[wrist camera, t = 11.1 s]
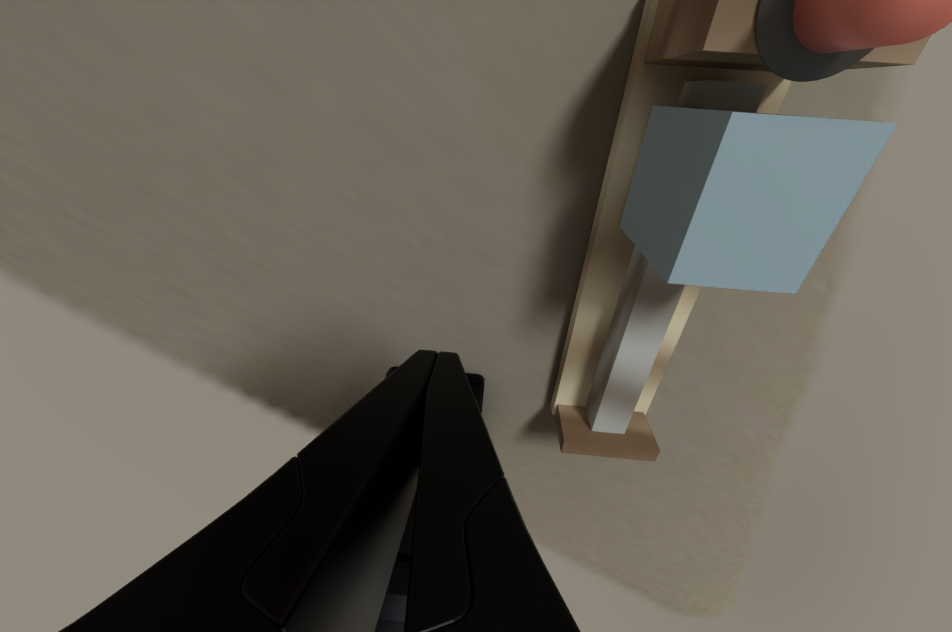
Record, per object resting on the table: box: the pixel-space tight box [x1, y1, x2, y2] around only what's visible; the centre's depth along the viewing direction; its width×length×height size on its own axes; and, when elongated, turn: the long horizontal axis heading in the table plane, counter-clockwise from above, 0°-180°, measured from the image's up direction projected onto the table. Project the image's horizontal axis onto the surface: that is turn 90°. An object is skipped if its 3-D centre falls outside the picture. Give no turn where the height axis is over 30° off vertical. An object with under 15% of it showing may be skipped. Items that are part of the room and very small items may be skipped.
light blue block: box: [619, 105, 897, 294], centre depth 13 cm, size 5×4×6 cm
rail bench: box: [551, 0, 931, 462], centre depth 17 cm, size 23×6×6 cm, turn 177°
